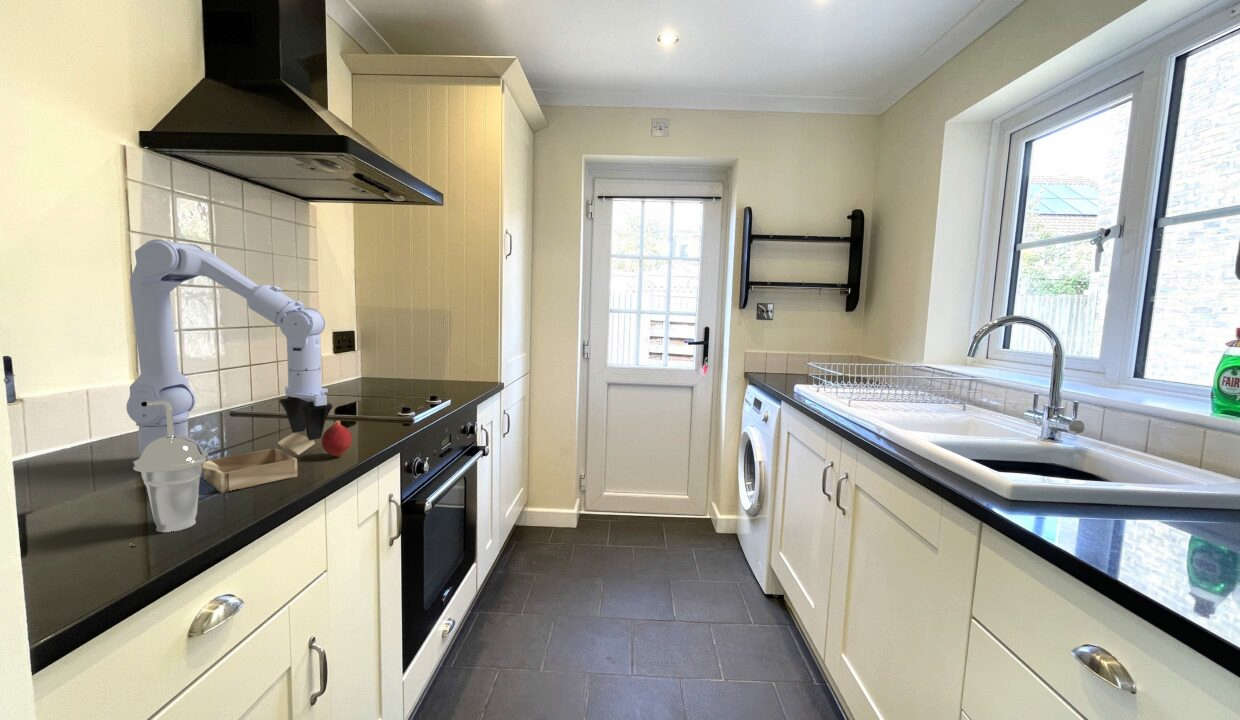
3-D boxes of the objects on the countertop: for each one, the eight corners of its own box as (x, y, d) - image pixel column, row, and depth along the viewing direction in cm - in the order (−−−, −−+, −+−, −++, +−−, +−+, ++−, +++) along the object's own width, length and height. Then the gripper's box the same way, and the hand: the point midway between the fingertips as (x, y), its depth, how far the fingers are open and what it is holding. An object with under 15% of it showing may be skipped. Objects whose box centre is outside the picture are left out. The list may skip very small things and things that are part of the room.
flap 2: (294, 431, 106) (296, 434, 106) (277, 442, 104) (279, 445, 104) (313, 440, 101) (315, 443, 101) (296, 452, 98) (298, 455, 99)
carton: (203, 478, 95) (202, 460, 95) (276, 464, 105) (275, 447, 104) (222, 494, 89) (221, 474, 88) (298, 476, 98) (298, 459, 98)
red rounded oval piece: (339, 462, 108) (338, 425, 107) (315, 459, 109) (314, 422, 108) (358, 454, 113) (357, 419, 112) (335, 451, 115) (335, 417, 114)
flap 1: (203, 455, 94) (200, 459, 94) (180, 449, 91) (178, 454, 91) (219, 466, 89) (216, 470, 89) (195, 460, 86) (193, 465, 86)
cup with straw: (226, 518, 80) (220, 392, 77) (162, 544, 71) (153, 403, 69) (185, 510, 82) (178, 387, 79) (117, 535, 73) (107, 397, 71)
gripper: (342, 371, 101) (343, 438, 103) (310, 363, 110) (312, 425, 111) (303, 374, 95) (305, 445, 97) (273, 366, 104) (275, 431, 106)
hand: (306, 435), depth 104 cm, fingers open, 7 cm apart
